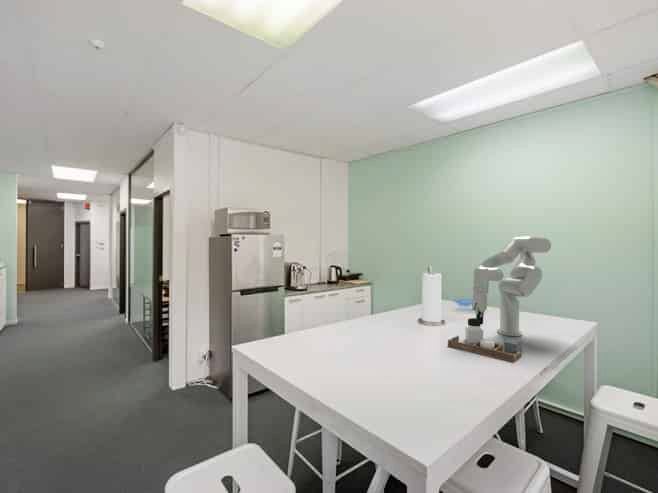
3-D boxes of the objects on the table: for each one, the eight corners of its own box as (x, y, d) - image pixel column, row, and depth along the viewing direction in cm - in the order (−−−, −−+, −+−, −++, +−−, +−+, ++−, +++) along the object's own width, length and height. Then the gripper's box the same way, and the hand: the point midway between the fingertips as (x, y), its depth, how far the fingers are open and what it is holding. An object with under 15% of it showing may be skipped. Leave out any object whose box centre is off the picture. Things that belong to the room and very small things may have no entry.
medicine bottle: (483, 344, 161) (483, 320, 161) (468, 343, 163) (468, 320, 163) (479, 339, 168) (479, 317, 168) (465, 339, 170) (465, 316, 170)
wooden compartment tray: (457, 341, 166) (457, 335, 166) (521, 355, 145) (521, 349, 145) (447, 346, 158) (448, 340, 158) (514, 361, 137) (514, 355, 137)
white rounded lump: (483, 348, 154) (483, 338, 154) (496, 351, 150) (496, 341, 150) (478, 351, 150) (478, 341, 150) (491, 354, 146) (491, 344, 146)
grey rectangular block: (510, 348, 155) (510, 337, 155) (521, 350, 152) (521, 340, 152) (504, 352, 149) (504, 341, 149) (516, 355, 145) (516, 344, 145)
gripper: (478, 288, 180) (477, 320, 180) (468, 290, 169) (467, 324, 169) (492, 290, 174) (491, 323, 174) (482, 292, 164) (481, 327, 164)
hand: (479, 323), depth 172 cm, fingers closed
